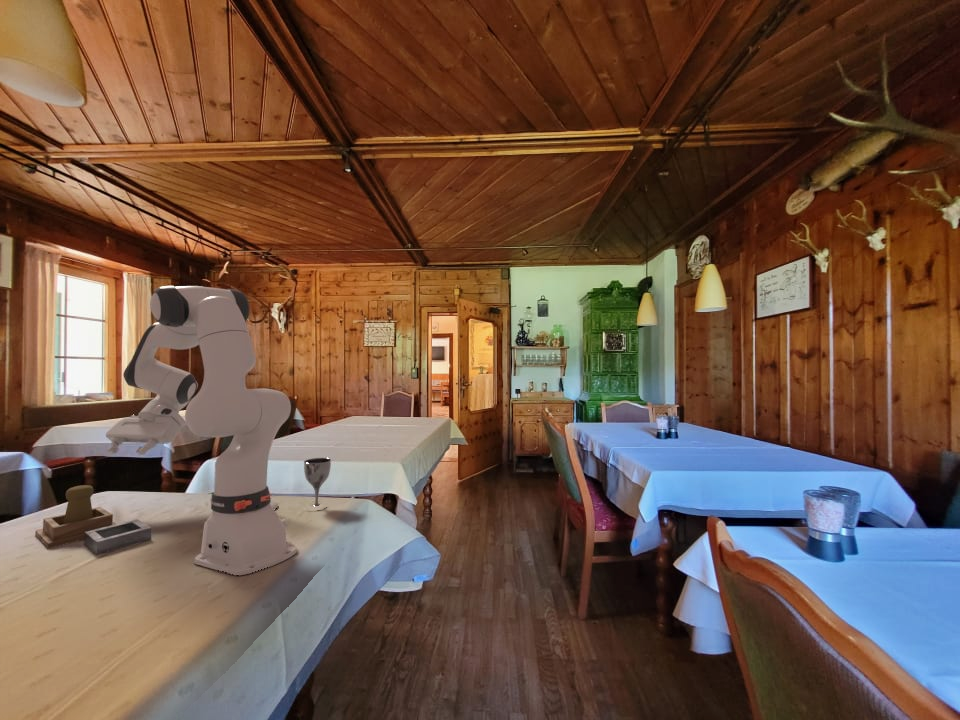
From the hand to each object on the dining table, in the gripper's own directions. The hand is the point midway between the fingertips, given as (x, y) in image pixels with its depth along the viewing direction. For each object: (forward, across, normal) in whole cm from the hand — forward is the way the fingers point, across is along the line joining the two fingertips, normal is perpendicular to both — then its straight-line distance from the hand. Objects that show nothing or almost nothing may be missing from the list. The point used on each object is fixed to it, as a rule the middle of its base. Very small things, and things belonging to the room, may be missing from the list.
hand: (125, 453), depth 115 cm
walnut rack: (+21, 0, +5) cm, 22 cm away
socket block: (+24, +16, +2) cm, 29 cm away
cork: (+21, 0, +4) cm, 21 cm away
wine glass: (+3, +53, +23) cm, 58 cm away
